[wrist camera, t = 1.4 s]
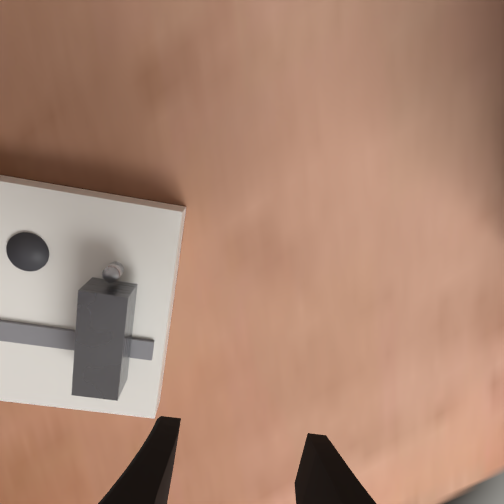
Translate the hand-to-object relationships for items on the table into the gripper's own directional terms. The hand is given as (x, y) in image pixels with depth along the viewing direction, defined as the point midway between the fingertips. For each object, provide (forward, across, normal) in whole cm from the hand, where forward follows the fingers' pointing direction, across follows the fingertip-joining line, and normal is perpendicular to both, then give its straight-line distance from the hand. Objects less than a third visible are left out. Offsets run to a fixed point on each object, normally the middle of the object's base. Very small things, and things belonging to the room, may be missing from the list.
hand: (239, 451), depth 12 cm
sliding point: (+6, +6, 0) cm, 9 cm away
